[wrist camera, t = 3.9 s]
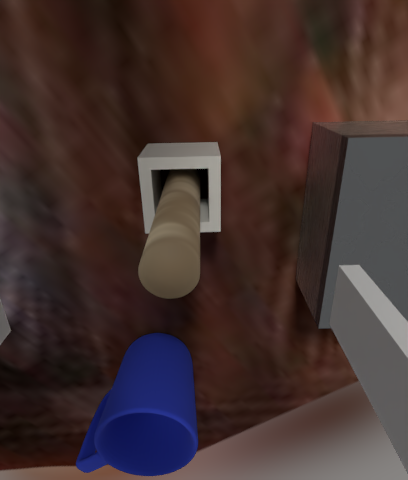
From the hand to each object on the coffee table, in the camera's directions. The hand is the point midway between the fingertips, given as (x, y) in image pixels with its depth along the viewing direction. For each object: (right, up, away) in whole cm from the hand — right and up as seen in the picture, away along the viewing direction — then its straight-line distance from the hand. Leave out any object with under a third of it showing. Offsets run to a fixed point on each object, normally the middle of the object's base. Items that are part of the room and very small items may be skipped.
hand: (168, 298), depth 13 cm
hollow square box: (0, +7, +15) cm, 16 cm away
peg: (0, +7, +15) cm, 16 cm away
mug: (-5, -11, +24) cm, 26 cm away
